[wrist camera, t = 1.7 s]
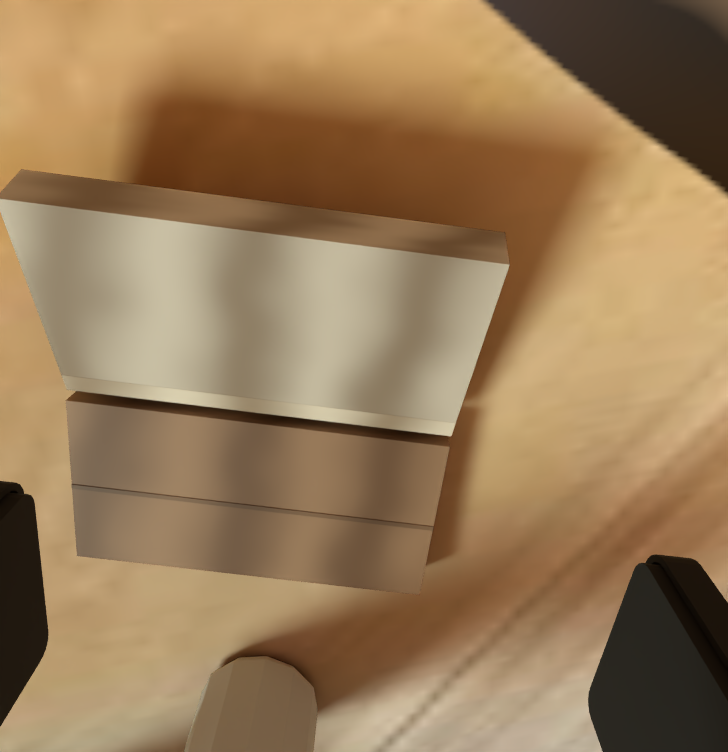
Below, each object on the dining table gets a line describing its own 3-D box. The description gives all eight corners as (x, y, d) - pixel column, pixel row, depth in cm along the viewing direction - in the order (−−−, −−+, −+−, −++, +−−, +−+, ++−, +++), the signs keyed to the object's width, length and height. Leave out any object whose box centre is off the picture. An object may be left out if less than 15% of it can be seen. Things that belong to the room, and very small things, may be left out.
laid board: (445, 427, 31) (450, 447, 29) (417, 569, 34) (419, 595, 33) (84, 383, 30) (65, 400, 29) (93, 532, 34) (76, 556, 32)
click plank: (505, 232, 23) (509, 264, 22) (450, 403, 30) (451, 436, 29) (21, 169, 23) (-5, 198, 21) (83, 359, 30) (66, 389, 29)
